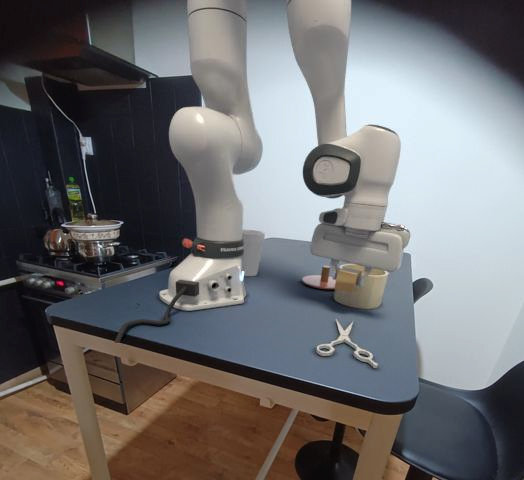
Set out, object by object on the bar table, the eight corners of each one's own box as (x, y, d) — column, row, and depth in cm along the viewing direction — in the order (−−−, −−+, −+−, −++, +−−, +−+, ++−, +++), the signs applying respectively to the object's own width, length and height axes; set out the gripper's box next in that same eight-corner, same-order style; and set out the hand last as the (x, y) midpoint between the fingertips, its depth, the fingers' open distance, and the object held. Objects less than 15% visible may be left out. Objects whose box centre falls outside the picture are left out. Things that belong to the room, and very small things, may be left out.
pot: (364, 312, 79) (372, 278, 75) (324, 297, 87) (329, 267, 83) (389, 303, 87) (397, 272, 83) (350, 290, 95) (356, 262, 91)
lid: (327, 294, 91) (331, 274, 88) (292, 282, 99) (295, 264, 96) (354, 287, 99) (358, 269, 96) (320, 276, 107) (322, 259, 105)
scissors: (315, 355, 56) (321, 314, 73) (315, 358, 56) (320, 317, 73) (377, 365, 54) (368, 321, 71) (376, 369, 55) (367, 324, 72)
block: (352, 293, 72) (356, 274, 70) (334, 288, 74) (338, 270, 72) (358, 289, 75) (362, 271, 73) (340, 285, 77) (344, 267, 75)
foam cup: (263, 271, 108) (266, 231, 102) (260, 278, 100) (263, 235, 94) (235, 268, 109) (237, 228, 102) (230, 275, 100) (231, 232, 94)
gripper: (415, 225, 65) (395, 290, 72) (323, 211, 74) (313, 270, 81) (410, 227, 60) (389, 296, 67) (312, 212, 69) (303, 275, 76)
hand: (347, 282), depth 74 cm, fingers closed on block, 4 cm apart
